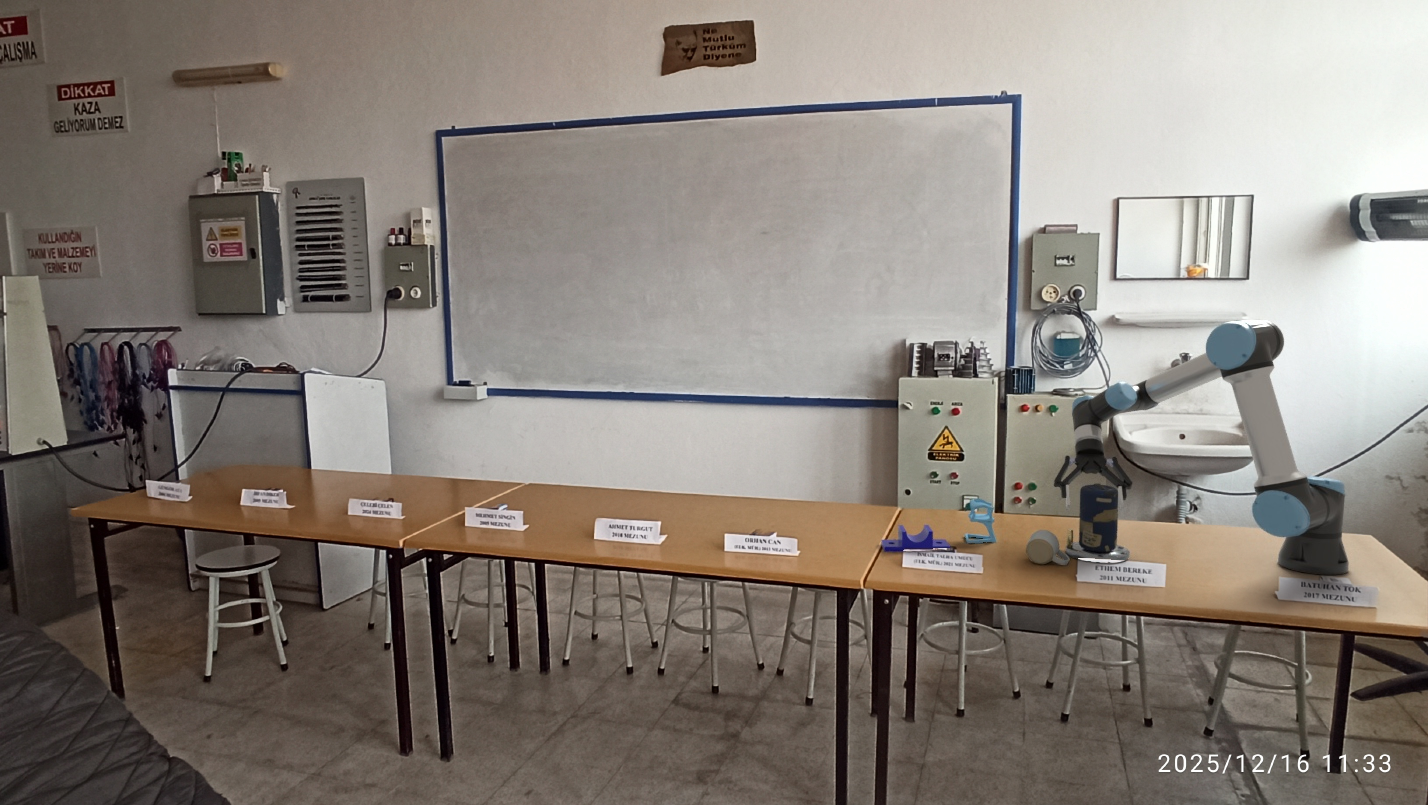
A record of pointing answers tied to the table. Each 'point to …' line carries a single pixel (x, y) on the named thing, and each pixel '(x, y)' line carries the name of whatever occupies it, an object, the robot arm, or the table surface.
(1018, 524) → the table surface
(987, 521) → the light blue stand
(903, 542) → the mounting bracket
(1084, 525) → the canister
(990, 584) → the table surface
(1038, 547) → the ceramic mug
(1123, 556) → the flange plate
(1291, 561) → the robot arm
